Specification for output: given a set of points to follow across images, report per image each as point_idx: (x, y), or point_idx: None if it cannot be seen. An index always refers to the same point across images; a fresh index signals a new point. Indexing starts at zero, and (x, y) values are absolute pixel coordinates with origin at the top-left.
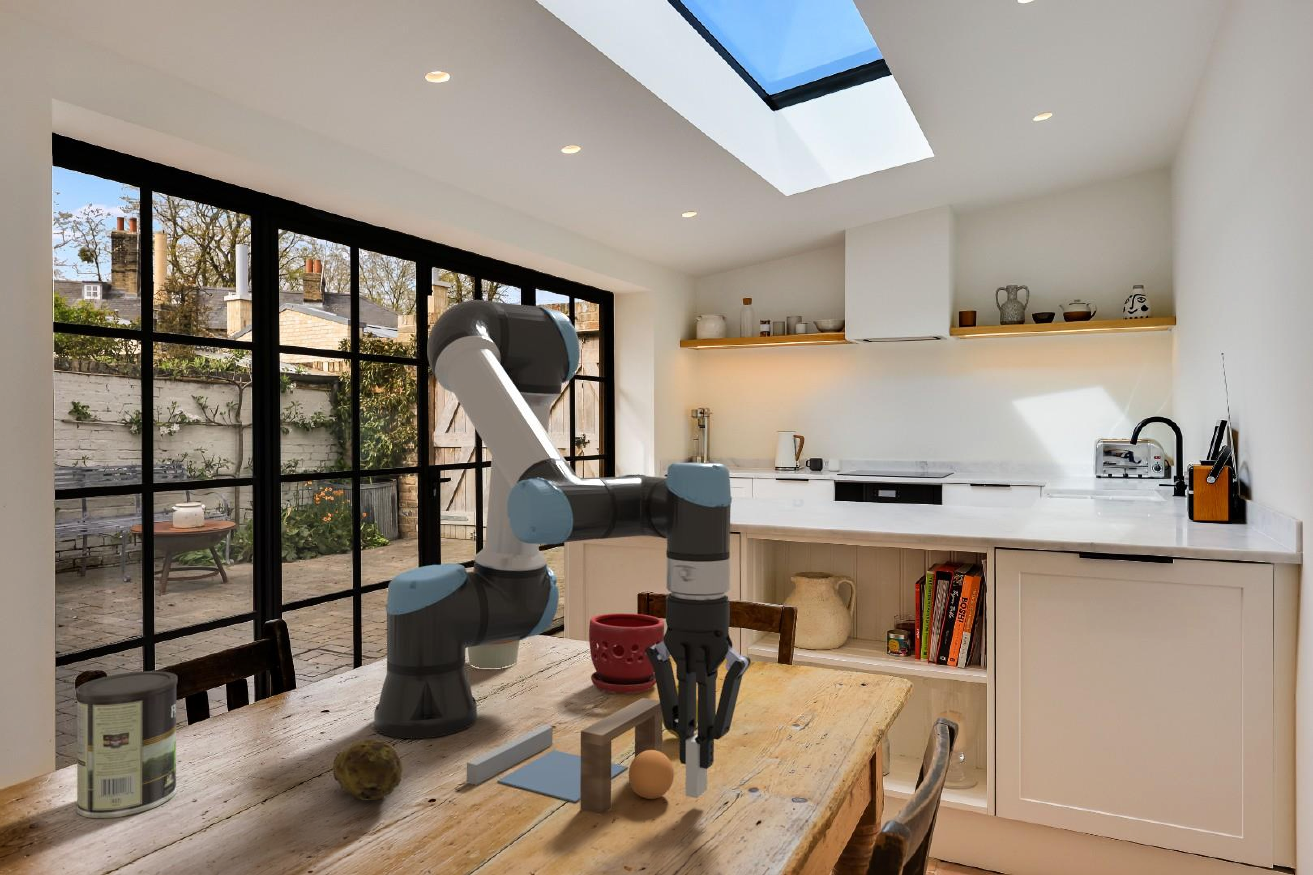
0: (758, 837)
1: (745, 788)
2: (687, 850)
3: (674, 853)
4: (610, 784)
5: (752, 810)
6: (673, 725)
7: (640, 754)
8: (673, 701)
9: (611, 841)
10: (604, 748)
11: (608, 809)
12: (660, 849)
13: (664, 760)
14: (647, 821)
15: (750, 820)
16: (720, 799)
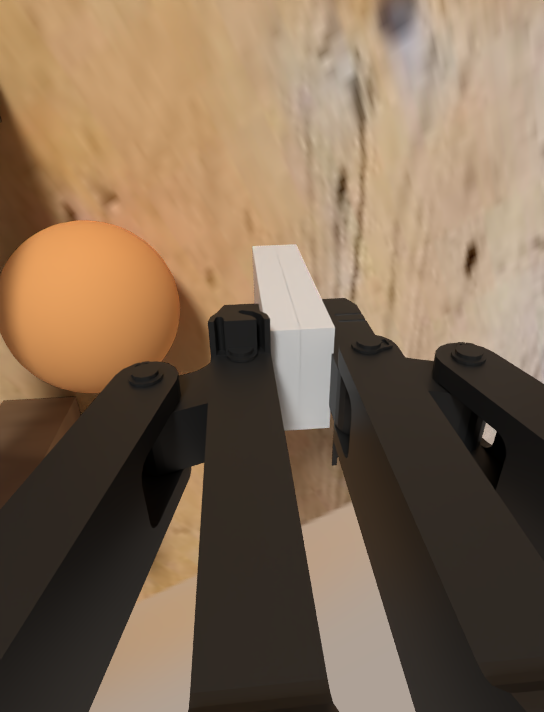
0: (485, 334)
1: (364, 16)
2: None
3: (332, 476)
4: (54, 443)
5: (436, 194)
6: (189, 469)
7: (36, 364)
8: (132, 533)
9: (192, 501)
10: None
11: (78, 409)
12: (299, 478)
13: (141, 334)
14: None
15: (446, 260)
16: (315, 173)
